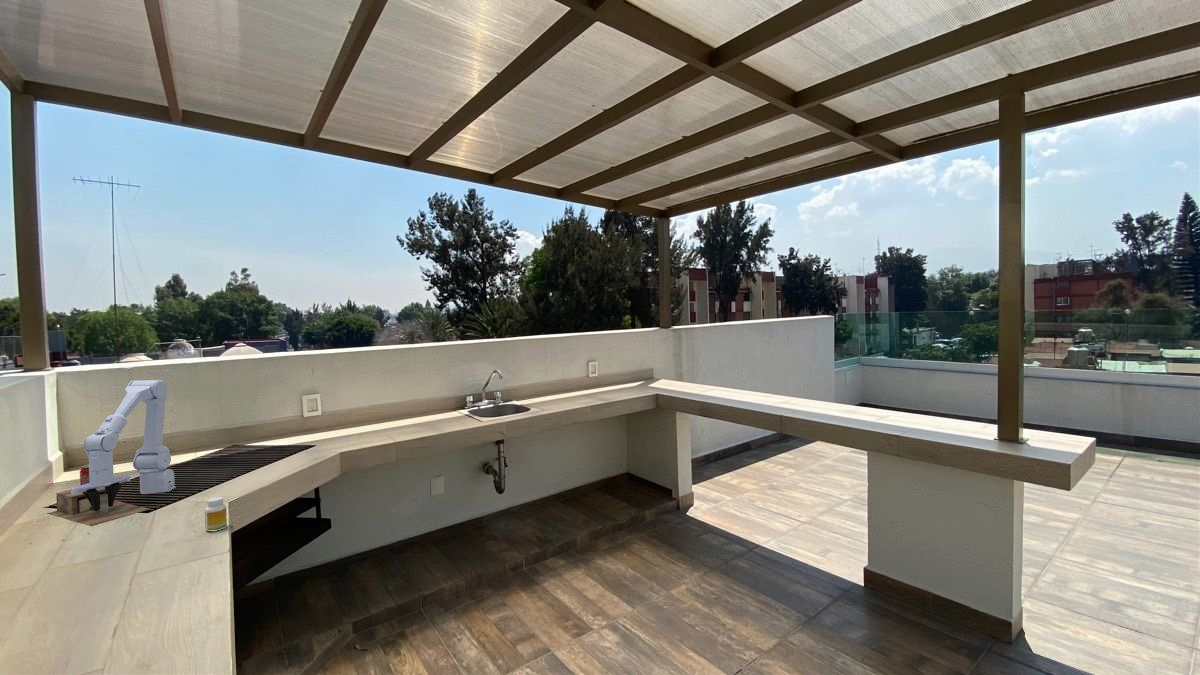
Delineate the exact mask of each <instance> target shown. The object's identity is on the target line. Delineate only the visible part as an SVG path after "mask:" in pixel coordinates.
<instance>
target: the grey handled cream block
mask: <svg viewBox="0 0 1200 675" xmlns="http://www.w3.org/2000/svg"><path fill="white" fill-rule="evenodd" d="M98 502H99V510H97V513H100V514H102V513H105V512H108V494H99V500H98ZM87 510H93V509H92V506H91V504H90V502H89V500H88V499H87V498H86V496H83V497H79V498H77V512H83V511H87Z"/></svg>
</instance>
